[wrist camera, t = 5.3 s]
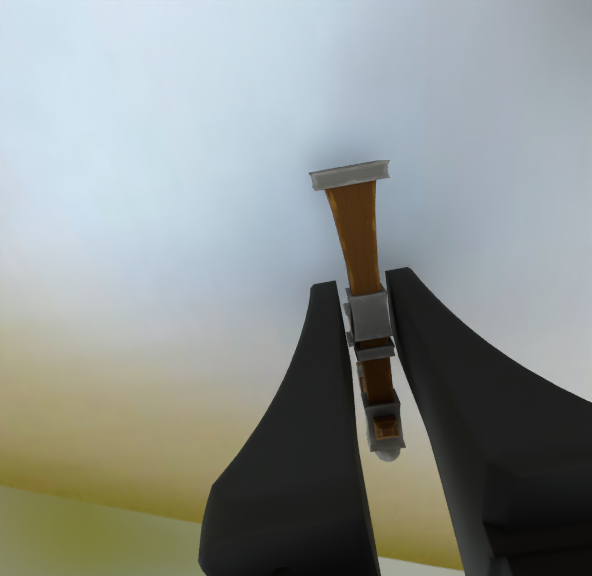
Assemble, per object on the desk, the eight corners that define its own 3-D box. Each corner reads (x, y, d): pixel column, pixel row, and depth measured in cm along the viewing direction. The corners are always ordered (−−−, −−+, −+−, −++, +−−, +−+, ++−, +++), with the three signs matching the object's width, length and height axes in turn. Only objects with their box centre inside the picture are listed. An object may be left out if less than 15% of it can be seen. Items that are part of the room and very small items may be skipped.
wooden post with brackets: (344, 400, 17) (360, 484, 12) (306, 170, 15) (309, 174, 10) (395, 392, 17) (429, 474, 12) (364, 160, 15) (391, 159, 10)
